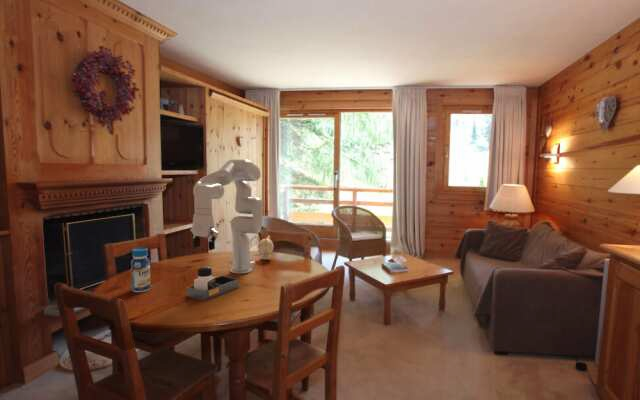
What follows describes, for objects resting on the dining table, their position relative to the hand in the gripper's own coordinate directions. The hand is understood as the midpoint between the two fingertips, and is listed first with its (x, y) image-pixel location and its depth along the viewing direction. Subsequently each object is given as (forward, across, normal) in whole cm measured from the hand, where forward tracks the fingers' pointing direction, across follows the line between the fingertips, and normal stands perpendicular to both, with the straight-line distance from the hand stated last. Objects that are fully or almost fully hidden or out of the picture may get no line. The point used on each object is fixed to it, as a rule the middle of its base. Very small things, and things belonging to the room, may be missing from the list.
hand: (204, 248), depth 169 cm
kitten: (+23, -18, +66) cm, 72 cm away
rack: (+22, 0, +5) cm, 23 cm away
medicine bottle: (+22, 0, 0) cm, 22 cm away
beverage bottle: (+22, -31, -12) cm, 40 cm away
